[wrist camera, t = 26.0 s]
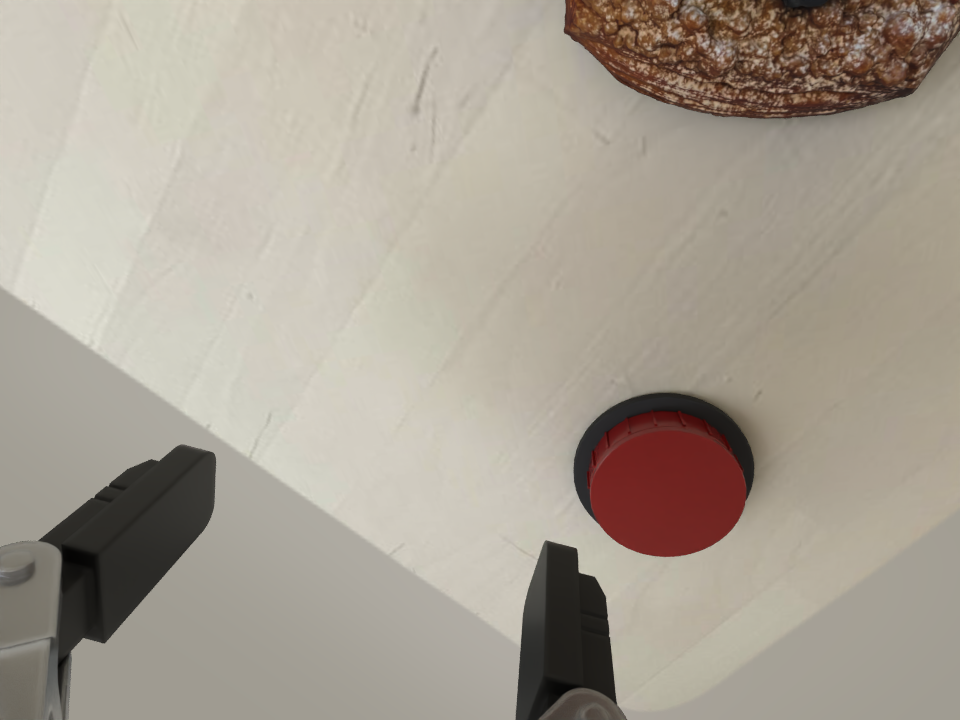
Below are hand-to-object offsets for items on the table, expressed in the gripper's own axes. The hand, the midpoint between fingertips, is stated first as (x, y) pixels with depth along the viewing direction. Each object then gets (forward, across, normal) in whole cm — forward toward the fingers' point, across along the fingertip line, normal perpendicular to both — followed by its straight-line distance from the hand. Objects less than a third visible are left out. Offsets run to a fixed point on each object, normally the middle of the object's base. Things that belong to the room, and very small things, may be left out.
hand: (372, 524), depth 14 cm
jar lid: (+8, -9, +2) cm, 13 cm away
